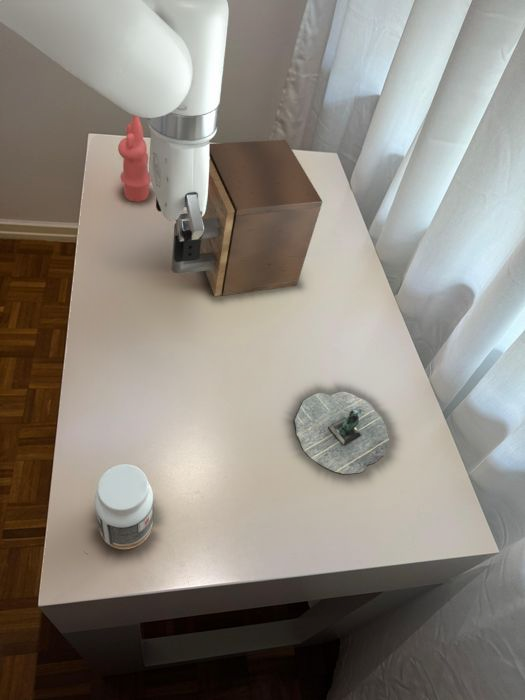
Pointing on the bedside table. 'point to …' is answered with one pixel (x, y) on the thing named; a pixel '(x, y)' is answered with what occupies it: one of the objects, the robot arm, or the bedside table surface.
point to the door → (211, 235)
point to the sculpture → (341, 432)
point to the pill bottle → (124, 506)
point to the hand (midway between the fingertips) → (177, 233)
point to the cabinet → (265, 214)
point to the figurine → (135, 162)
